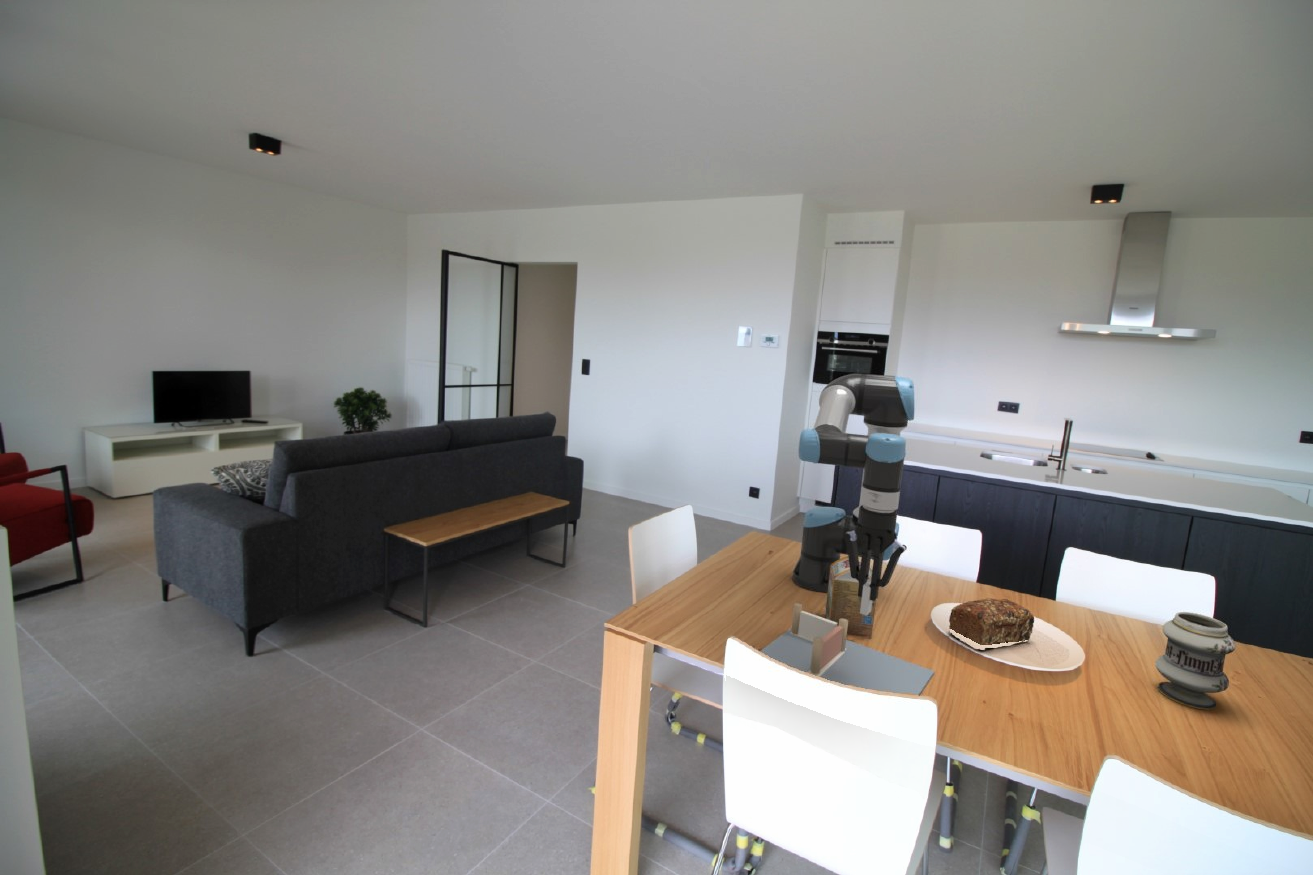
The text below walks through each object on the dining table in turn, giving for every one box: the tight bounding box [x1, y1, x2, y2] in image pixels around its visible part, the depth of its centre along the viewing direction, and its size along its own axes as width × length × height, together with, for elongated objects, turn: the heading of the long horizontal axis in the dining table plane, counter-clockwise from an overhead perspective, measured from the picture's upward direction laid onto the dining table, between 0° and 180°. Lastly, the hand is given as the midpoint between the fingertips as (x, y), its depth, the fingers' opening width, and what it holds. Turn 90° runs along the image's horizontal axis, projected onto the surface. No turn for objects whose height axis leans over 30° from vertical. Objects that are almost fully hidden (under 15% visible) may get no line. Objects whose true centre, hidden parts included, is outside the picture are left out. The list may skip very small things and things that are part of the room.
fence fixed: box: [790, 602, 848, 651], centre depth 145 cm, size 2×14×7 cm, turn 52°
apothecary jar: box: [1155, 611, 1236, 711], centre depth 130 cm, size 12×12×18 cm
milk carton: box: [824, 555, 877, 639], centre depth 155 cm, size 11×11×19 cm
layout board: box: [760, 627, 935, 696], centre depth 136 cm, size 22×33×1 cm, turn 51°
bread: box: [948, 597, 1035, 645], centre depth 153 cm, size 19×11×10 cm, turn 112°
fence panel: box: [810, 625, 843, 674], centre depth 135 cm, size 14×2×7 cm, turn 141°
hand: (865, 612), depth 130 cm, fingers closed
